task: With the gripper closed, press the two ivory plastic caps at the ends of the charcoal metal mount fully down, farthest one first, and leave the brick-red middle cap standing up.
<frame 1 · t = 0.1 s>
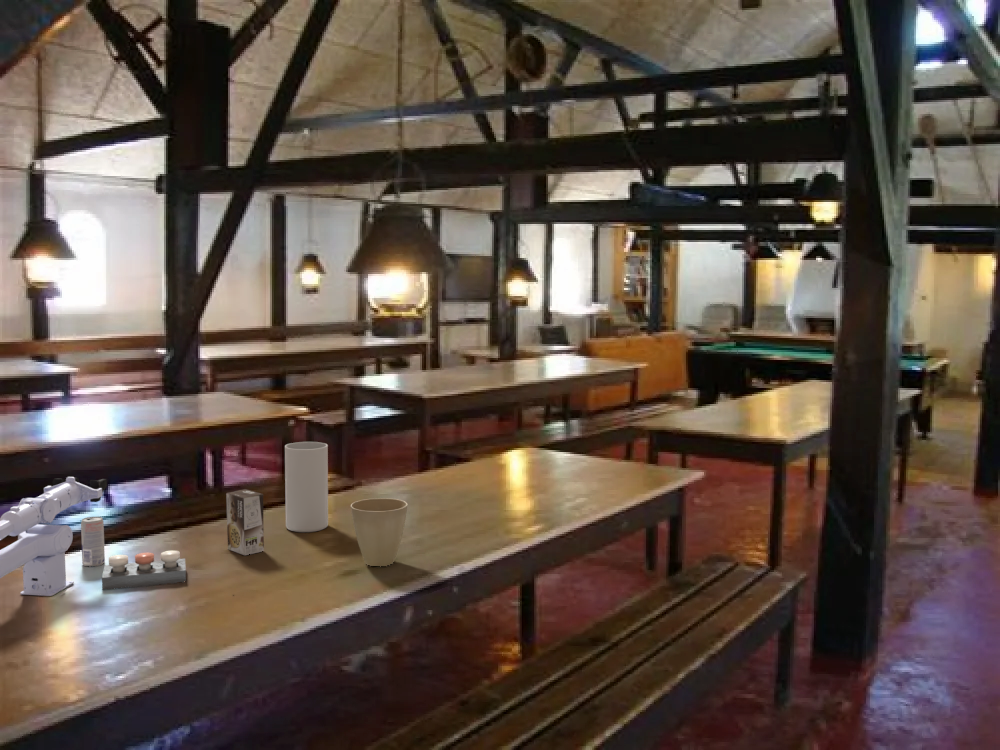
hand: (91, 482, 237), 22 cm above the table, tool horizontal, fingers open, 7 cm apart
far cap: (170, 561, 230), point 4 cm above the table, slide at 0.0 cm
near cap: (118, 565, 226), point 4 cm above the table, slide at 0.0 cm
mount: (145, 579, 228), on the table
coffee box: (245, 550, 253), on the table
cylinder vase: (307, 527, 277), on the table
energy drink: (93, 564, 240), on the table
plant pot: (379, 563, 244), on the table
middle cap: (144, 563, 228), point 4 cm above the table, slide at 0.0 cm
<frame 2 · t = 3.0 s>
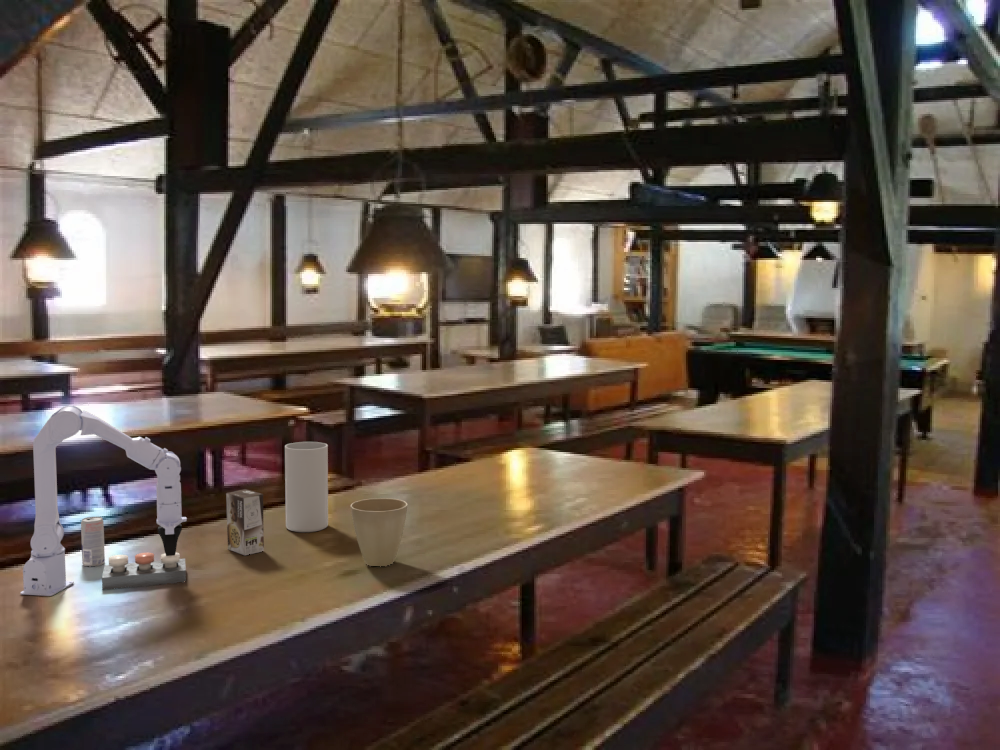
hand: (170, 555, 229), 6 cm above the table, tool pointing down, fingers closed, pressing on far cap
far cap: (170, 562, 230), point 4 cm above the table, slide at 0.5 cm, touching gripper
everything else where it was.
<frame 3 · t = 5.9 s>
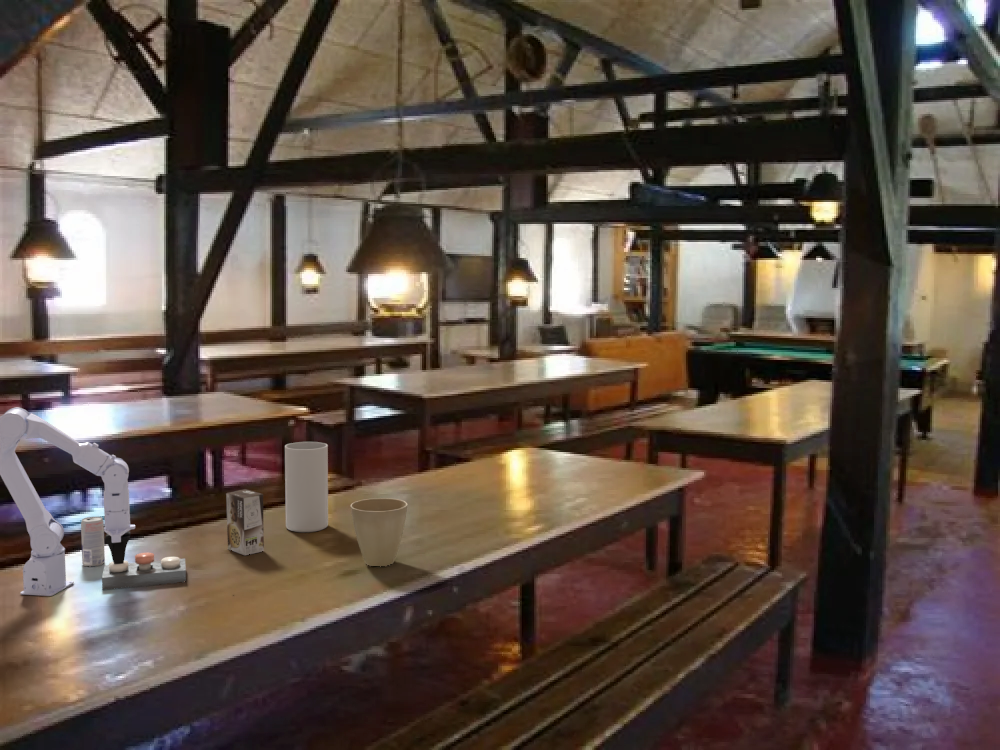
hand: (118, 563, 226), 5 cm above the table, tool pointing down, fingers closed, pressing on near cap
far cap: (170, 567, 230), point 3 cm above the table, slide at 1.6 cm, touching mount
near cap: (118, 571, 226), point 3 cm above the table, slide at 1.4 cm, touching gripper
everything else where it was.
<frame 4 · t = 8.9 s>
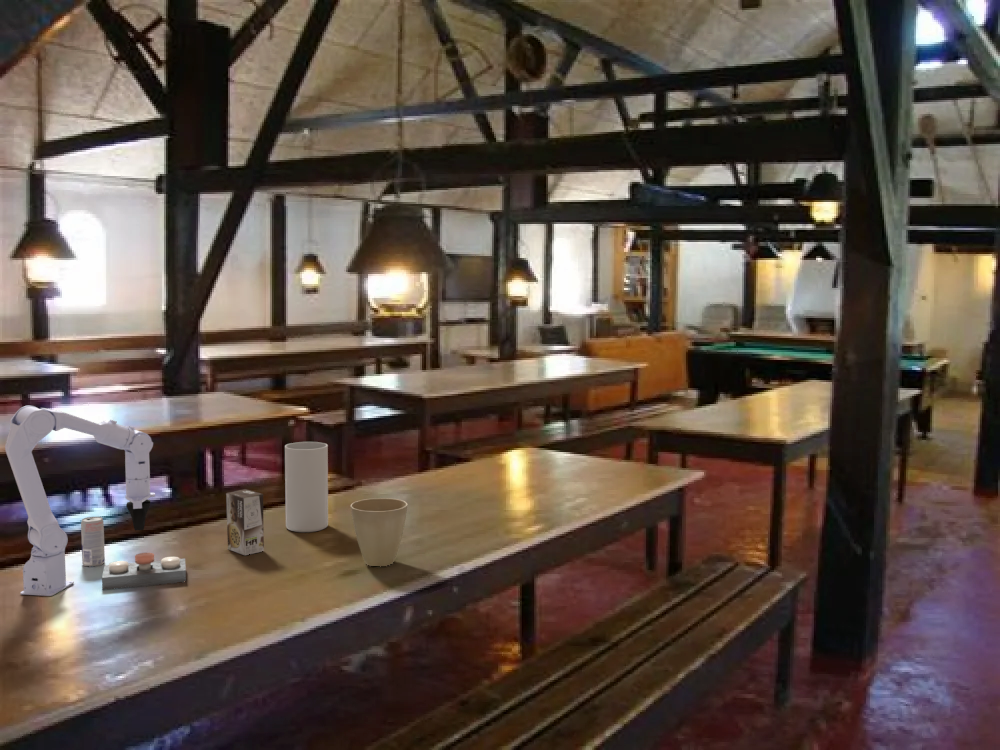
hand: (139, 529, 235), 10 cm above the table, tool pointing down, fingers closed
near cap: (118, 571, 226), point 3 cm above the table, slide at 1.6 cm, touching mount
everything else where it was.
at the end: far cap slide at 1.6 cm; near cap slide at 1.6 cm; middle cap slide at 0.0 cm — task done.
